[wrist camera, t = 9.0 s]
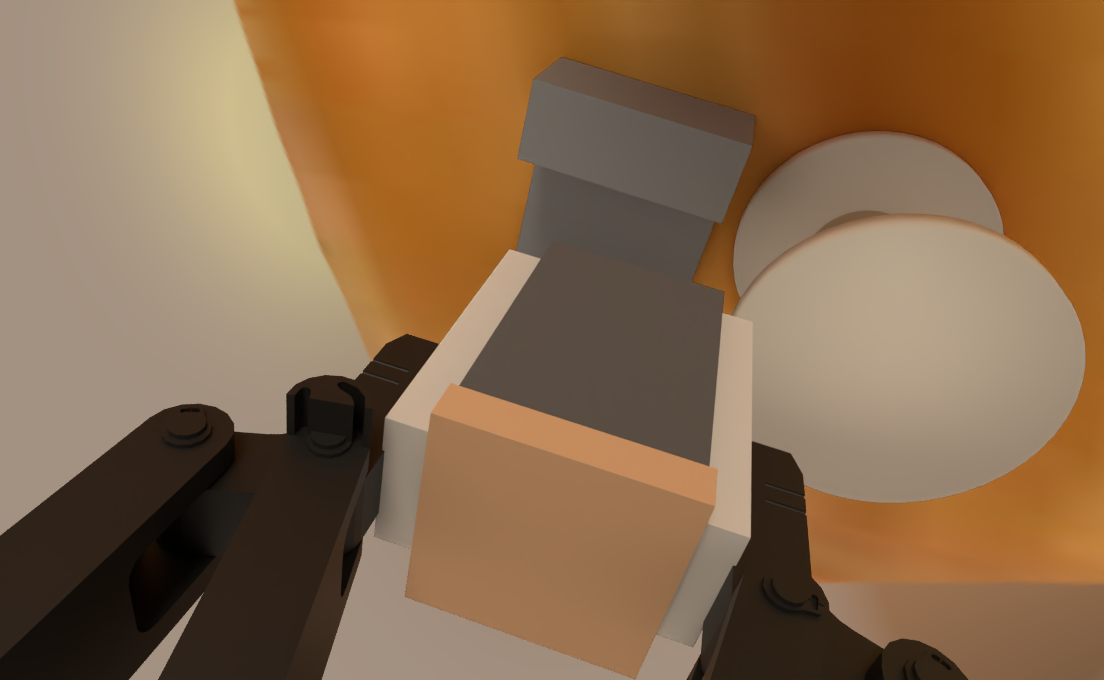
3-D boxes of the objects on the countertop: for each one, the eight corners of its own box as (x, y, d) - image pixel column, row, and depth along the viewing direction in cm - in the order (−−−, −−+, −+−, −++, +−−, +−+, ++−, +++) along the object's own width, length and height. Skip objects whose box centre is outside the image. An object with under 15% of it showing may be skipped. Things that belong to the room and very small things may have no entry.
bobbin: (790, 97, 27) (797, 179, 19) (1054, 176, 26) (1173, 295, 18) (701, 312, 33) (680, 442, 25) (916, 383, 32) (963, 541, 24)
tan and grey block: (549, 235, 16) (430, 413, 10) (730, 289, 16) (715, 506, 10) (517, 382, 18) (404, 597, 12) (674, 432, 18) (635, 679, 12)
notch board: (561, 57, 28) (533, 78, 25) (754, 115, 28) (752, 145, 24) (507, 303, 35) (479, 347, 32) (661, 356, 35) (649, 405, 31)
